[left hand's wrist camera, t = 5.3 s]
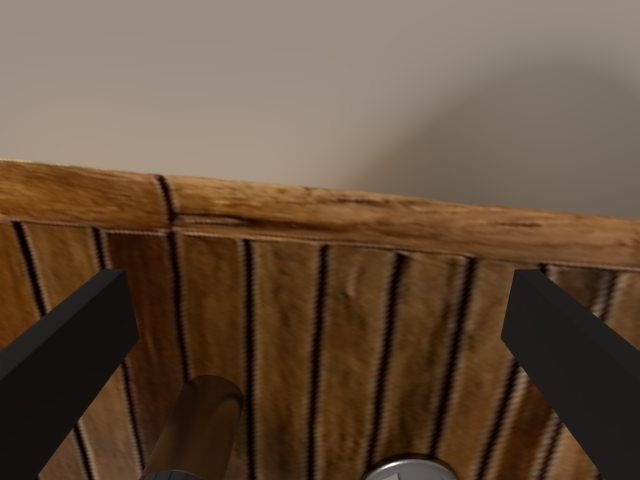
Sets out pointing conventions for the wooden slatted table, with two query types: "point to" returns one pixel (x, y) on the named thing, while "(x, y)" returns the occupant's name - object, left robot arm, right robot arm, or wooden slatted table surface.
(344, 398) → the wooden slatted table surface
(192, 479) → the lid
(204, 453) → the jar
